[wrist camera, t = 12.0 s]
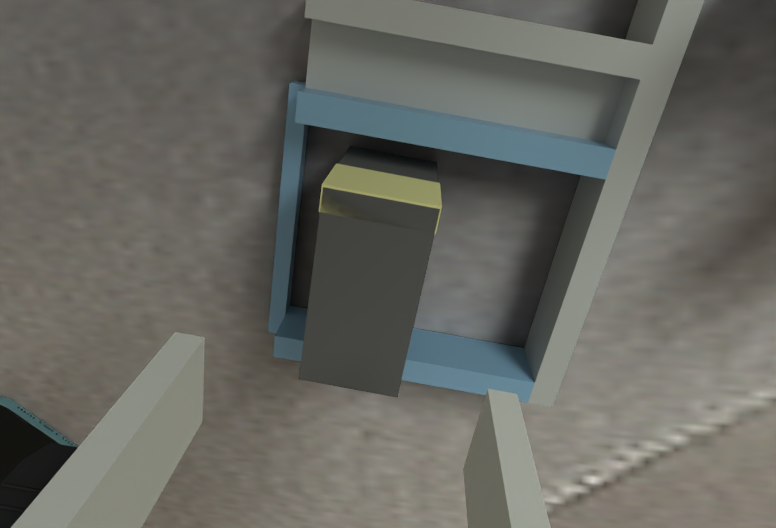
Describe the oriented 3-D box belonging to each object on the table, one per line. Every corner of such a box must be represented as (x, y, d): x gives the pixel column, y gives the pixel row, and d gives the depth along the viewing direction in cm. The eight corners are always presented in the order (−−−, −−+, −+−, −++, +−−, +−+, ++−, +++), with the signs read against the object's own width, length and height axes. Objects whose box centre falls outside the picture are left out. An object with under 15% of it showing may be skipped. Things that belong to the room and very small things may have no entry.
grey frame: (339, -407, 17) (322, -492, 14) (782, -323, 17) (850, -391, 14) (273, 322, 28) (256, 353, 25) (539, 370, 28) (552, 407, 25)
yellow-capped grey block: (349, 143, 24) (322, 184, 18) (438, 160, 24) (442, 206, 18) (327, 297, 27) (297, 378, 21) (405, 312, 27) (398, 397, 21)
